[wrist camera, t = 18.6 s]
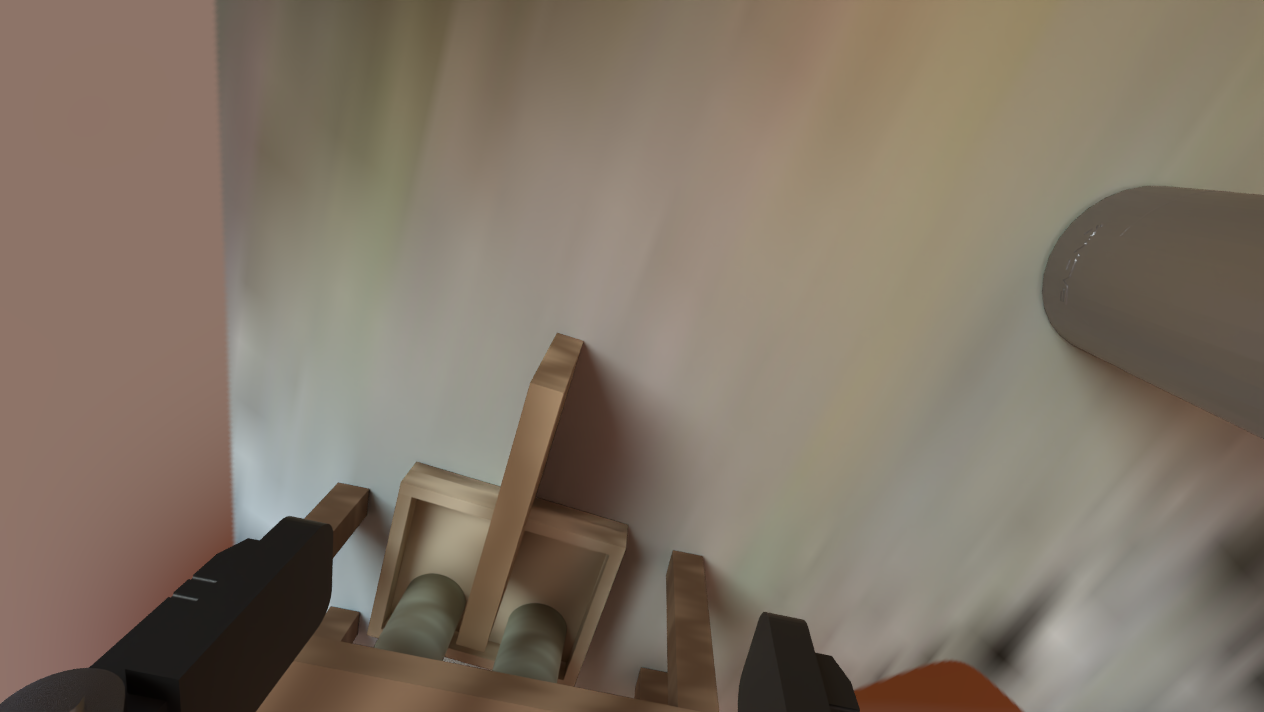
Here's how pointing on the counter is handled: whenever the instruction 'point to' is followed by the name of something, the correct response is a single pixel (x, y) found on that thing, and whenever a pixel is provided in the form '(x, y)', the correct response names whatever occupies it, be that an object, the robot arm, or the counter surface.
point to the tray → (499, 556)
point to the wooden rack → (477, 698)
